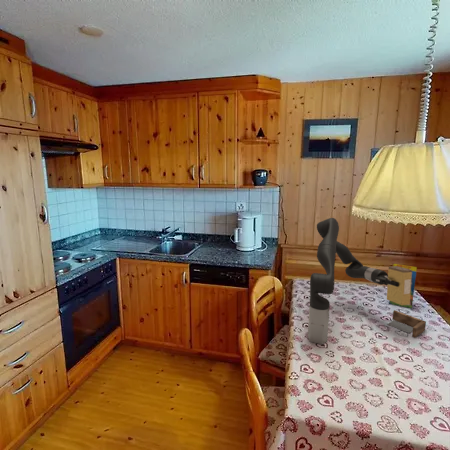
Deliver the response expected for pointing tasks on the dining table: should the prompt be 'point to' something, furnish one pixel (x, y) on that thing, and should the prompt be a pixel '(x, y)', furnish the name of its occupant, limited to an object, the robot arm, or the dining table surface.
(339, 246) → the robot arm
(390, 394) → the dining table surface
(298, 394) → the dining table surface
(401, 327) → the mat
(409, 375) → the dining table surface
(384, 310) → the dining table surface
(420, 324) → the corner arena
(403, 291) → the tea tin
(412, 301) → the blue food package
